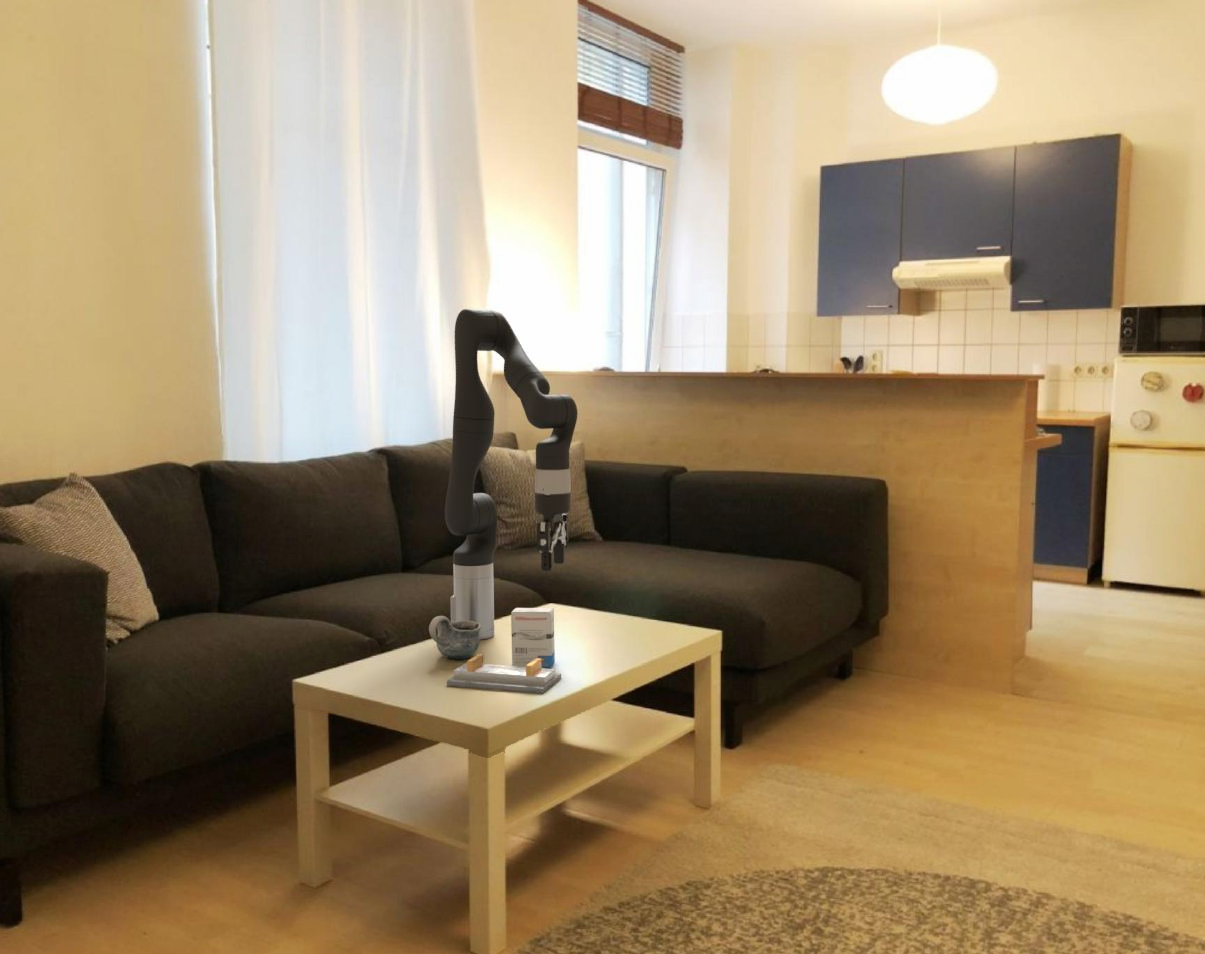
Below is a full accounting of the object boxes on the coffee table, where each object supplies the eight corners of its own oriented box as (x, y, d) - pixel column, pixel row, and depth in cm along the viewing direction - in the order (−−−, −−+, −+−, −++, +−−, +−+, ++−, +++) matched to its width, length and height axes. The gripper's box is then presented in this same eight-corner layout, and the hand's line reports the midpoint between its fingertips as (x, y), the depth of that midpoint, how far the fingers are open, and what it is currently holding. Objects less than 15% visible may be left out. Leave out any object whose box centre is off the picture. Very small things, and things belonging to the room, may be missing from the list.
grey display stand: (446, 685, 218) (446, 663, 218) (469, 671, 229) (468, 649, 228) (542, 693, 212) (542, 670, 212) (561, 678, 223) (561, 656, 222)
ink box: (555, 661, 236) (554, 607, 234) (552, 668, 231) (551, 612, 230) (515, 661, 236) (514, 606, 235) (511, 667, 232) (510, 611, 230)
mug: (490, 654, 242) (489, 609, 241) (456, 668, 231) (455, 621, 230) (453, 649, 246) (452, 605, 245) (418, 662, 235) (417, 616, 235)
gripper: (546, 486, 240) (546, 560, 242) (524, 493, 226) (525, 572, 228) (579, 487, 238) (579, 562, 240) (559, 494, 224) (560, 573, 226)
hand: (553, 566), depth 234 cm, fingers open, 8 cm apart
